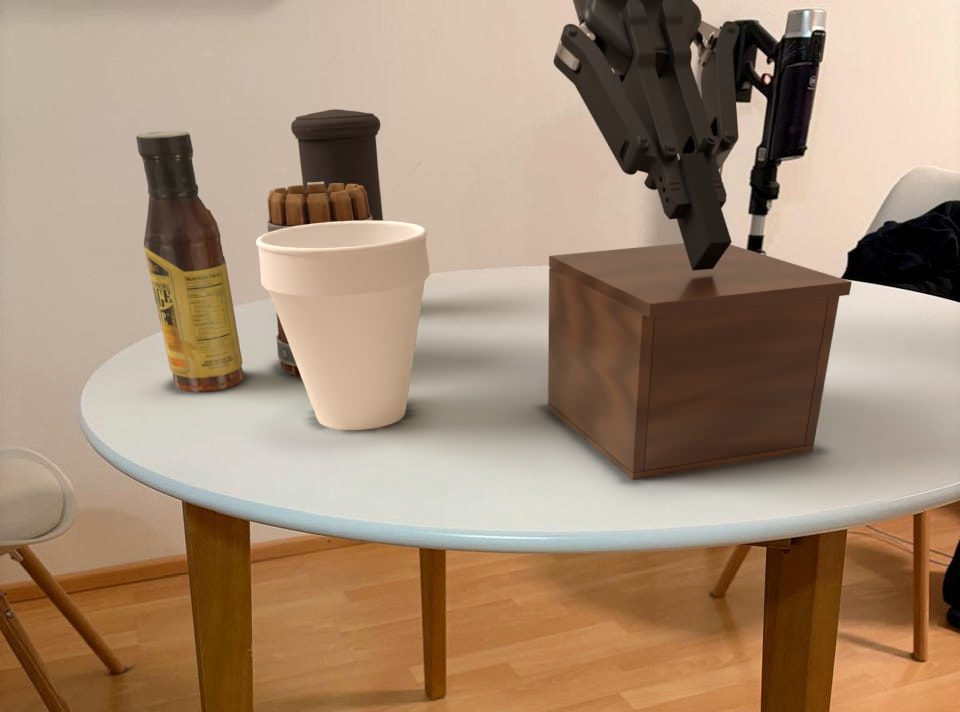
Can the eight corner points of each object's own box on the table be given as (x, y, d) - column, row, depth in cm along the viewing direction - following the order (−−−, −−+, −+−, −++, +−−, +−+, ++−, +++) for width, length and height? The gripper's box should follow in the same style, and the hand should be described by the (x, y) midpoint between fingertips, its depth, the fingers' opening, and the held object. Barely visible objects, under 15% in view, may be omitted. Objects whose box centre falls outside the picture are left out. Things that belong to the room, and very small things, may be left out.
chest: (812, 455, 63) (840, 292, 57) (632, 484, 60) (642, 314, 54) (701, 391, 75) (715, 251, 70) (547, 412, 72) (548, 268, 66)
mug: (398, 378, 81) (383, 192, 73) (279, 387, 80) (250, 200, 72) (385, 335, 94) (371, 173, 86) (282, 342, 93) (258, 179, 85)
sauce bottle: (174, 380, 83) (121, 131, 72) (244, 372, 84) (201, 127, 74) (174, 401, 78) (117, 137, 67) (249, 392, 79) (204, 132, 68)
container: (316, 308, 105) (291, 109, 95) (394, 304, 106) (378, 105, 95) (313, 327, 98) (286, 113, 87) (396, 322, 99) (379, 109, 88)
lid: (849, 295, 56) (852, 281, 56) (649, 318, 53) (650, 303, 53) (715, 251, 70) (716, 239, 69) (548, 267, 66) (548, 255, 66)
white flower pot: (263, 412, 74) (233, 232, 67) (399, 385, 79) (384, 214, 72) (316, 459, 65) (288, 256, 58) (466, 425, 70) (458, 234, 63)
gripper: (683, 2, 67) (772, 283, 63) (515, 4, 64) (597, 300, 60) (728, -101, 60) (833, 209, 56) (542, -103, 57) (638, 224, 53)
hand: (711, 256), depth 58 cm, fingers closed
